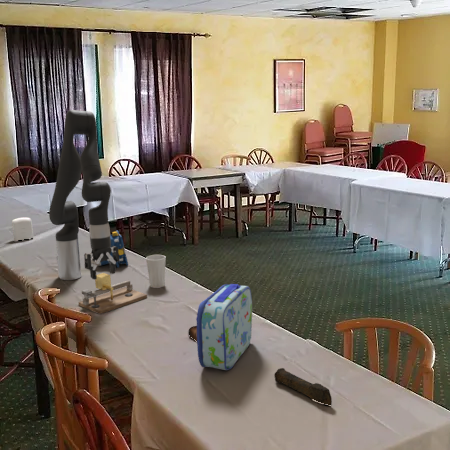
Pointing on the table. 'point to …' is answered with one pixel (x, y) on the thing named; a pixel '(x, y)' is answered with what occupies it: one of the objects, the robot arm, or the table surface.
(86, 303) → the board
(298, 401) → the table surface
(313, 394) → the hand tool
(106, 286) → the sliding block
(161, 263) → the cup
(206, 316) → the lunch box
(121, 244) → the blue piece
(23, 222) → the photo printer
